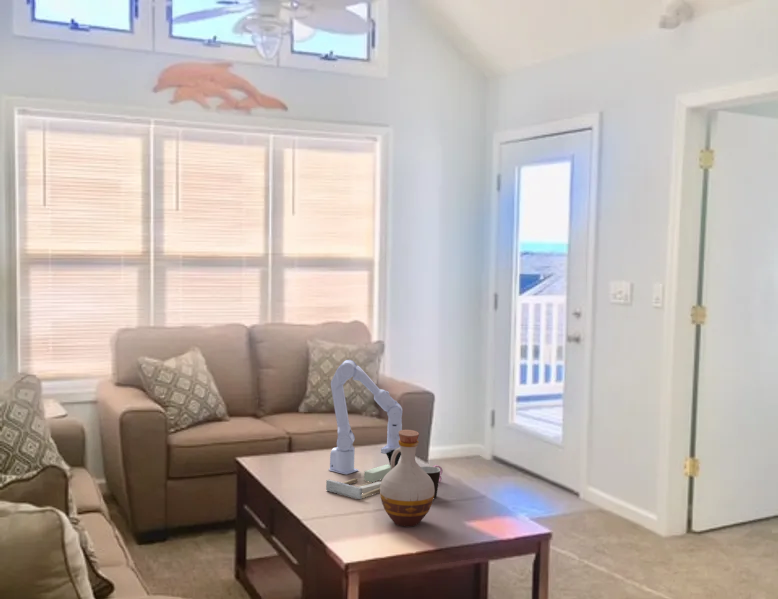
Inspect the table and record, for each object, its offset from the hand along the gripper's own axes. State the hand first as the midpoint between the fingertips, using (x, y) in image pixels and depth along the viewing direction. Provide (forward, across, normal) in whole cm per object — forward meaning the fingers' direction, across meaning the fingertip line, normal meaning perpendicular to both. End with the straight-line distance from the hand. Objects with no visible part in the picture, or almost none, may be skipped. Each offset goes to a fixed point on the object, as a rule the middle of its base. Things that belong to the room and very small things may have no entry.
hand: (393, 468), depth 321 cm
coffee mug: (+2, -16, -26) cm, 31 cm away
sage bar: (+2, -9, 0) cm, 9 cm away
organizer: (+2, -26, -4) cm, 27 cm away
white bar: (+2, -25, -7) cm, 27 cm away
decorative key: (+2, -5, -16) cm, 17 cm away
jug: (+2, -43, -37) cm, 57 cm away
